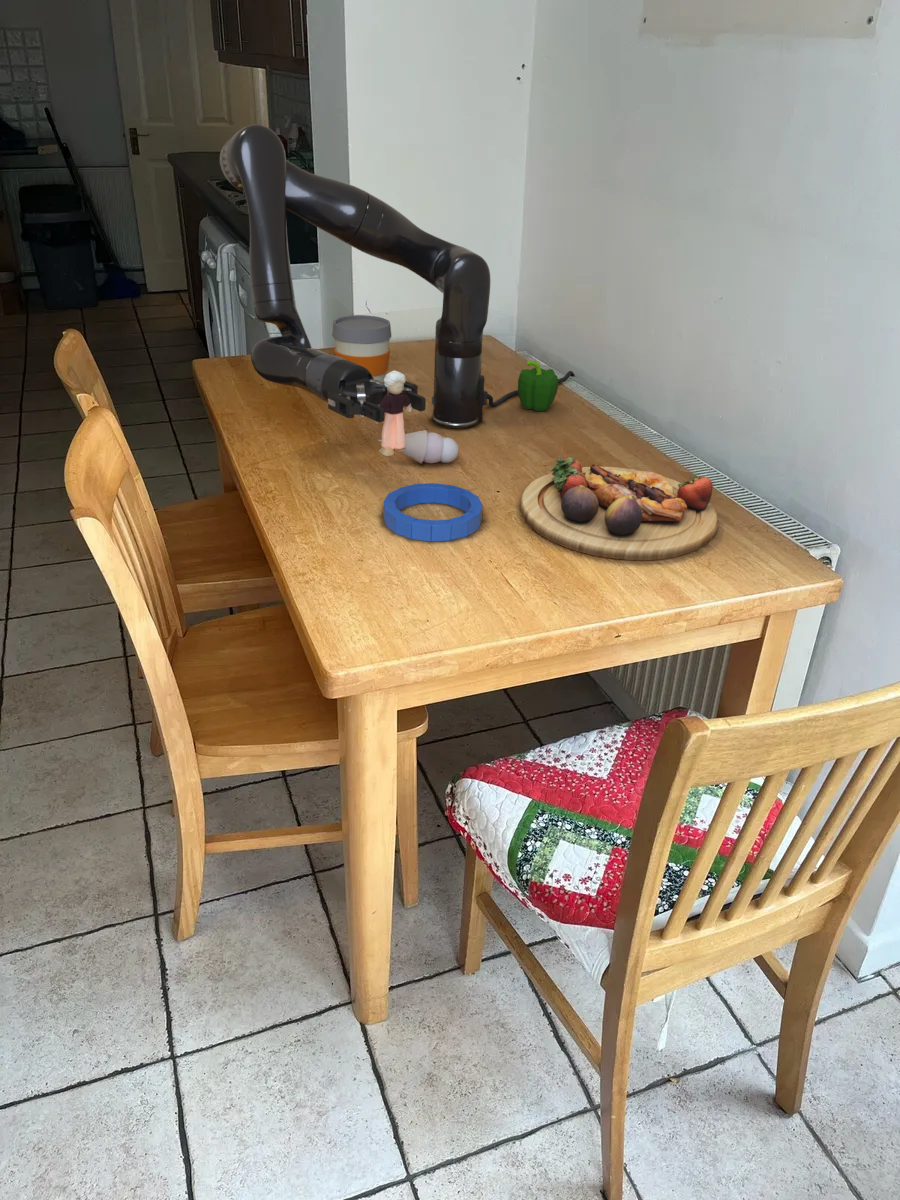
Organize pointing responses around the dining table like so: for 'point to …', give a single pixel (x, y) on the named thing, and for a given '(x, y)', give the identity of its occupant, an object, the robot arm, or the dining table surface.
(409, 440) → the ice cream cone
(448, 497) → the tape ring
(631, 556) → the wooden plate
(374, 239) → the robot arm
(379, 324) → the reusable coffee cup
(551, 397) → the bell pepper
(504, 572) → the dining table surface
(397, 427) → the grandmother figurine
